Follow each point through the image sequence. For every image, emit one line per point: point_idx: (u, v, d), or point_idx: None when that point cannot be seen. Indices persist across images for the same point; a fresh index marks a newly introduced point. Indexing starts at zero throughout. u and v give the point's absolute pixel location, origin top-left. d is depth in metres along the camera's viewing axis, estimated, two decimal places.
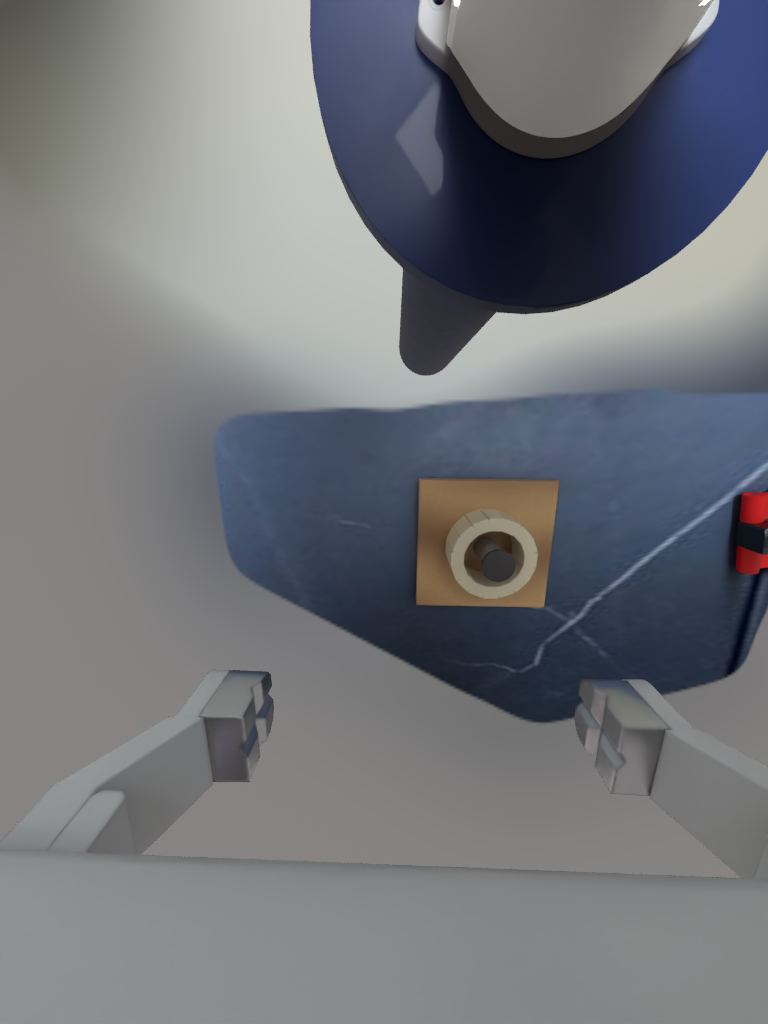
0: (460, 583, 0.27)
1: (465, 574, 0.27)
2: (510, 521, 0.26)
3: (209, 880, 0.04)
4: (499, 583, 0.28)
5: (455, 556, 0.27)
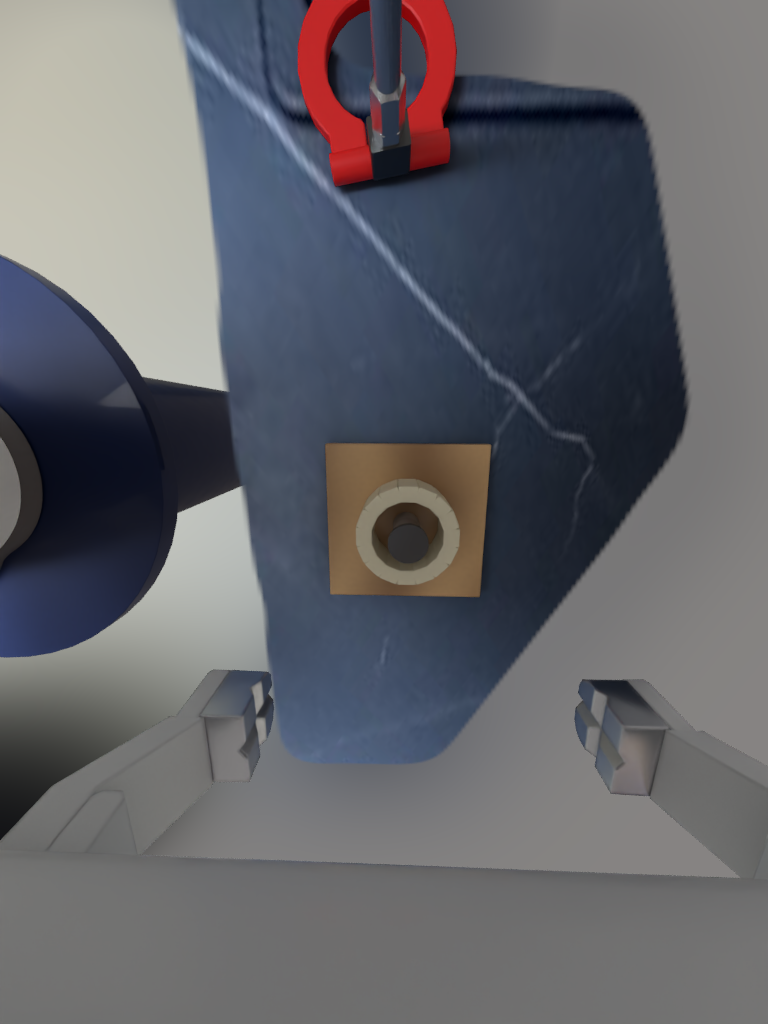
0: (437, 574, 0.23)
1: (426, 568, 0.23)
2: (359, 522, 0.22)
3: (209, 880, 0.04)
4: (441, 525, 0.22)
5: (403, 580, 0.23)
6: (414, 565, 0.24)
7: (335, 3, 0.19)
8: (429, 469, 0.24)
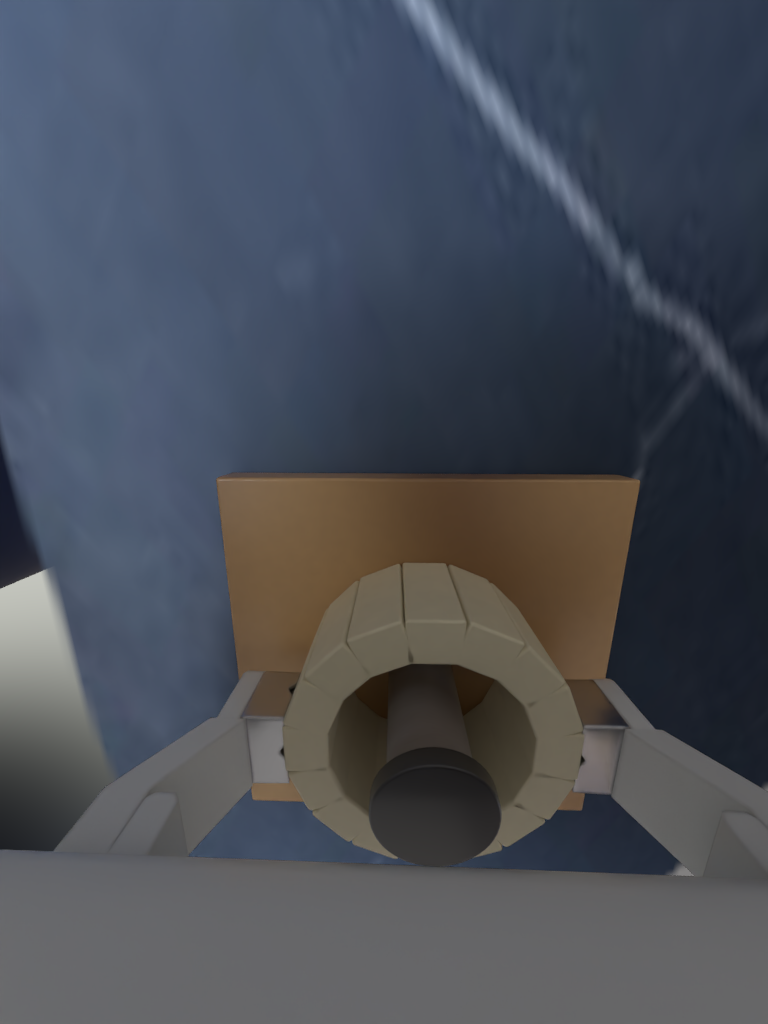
0: (512, 840, 0.08)
1: None
2: (290, 713, 0.08)
3: (209, 880, 0.04)
4: (525, 714, 0.08)
5: None
6: None
7: None
8: (478, 540, 0.10)
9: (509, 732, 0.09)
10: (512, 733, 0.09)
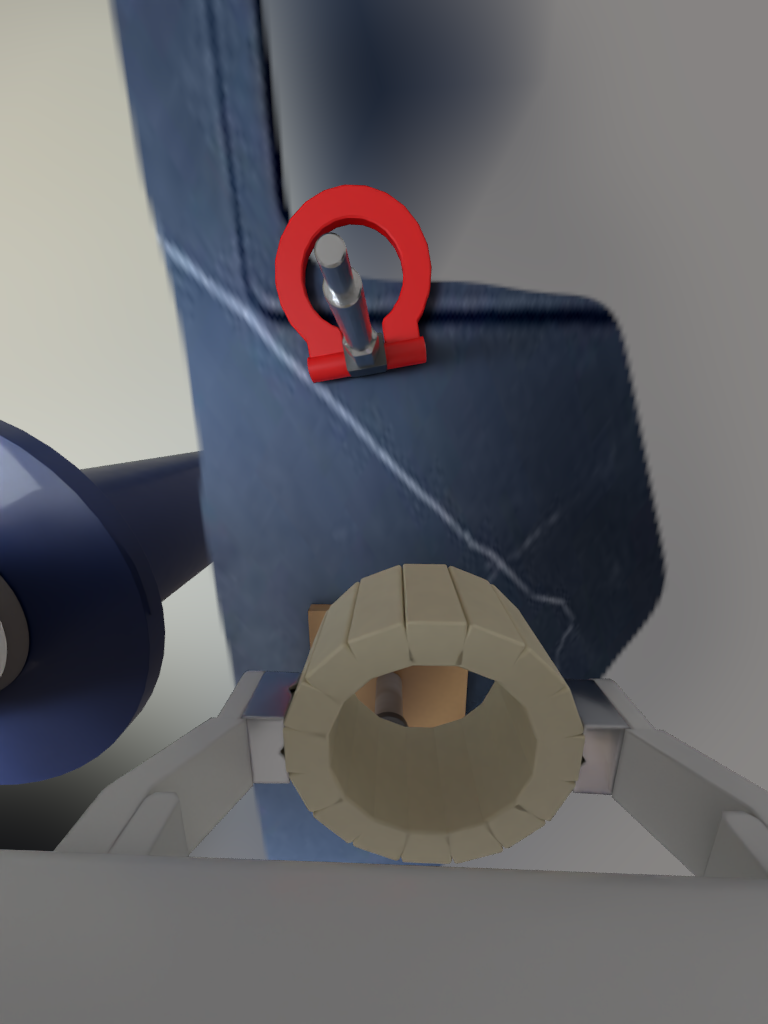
0: (513, 842, 0.08)
1: (481, 829, 0.08)
2: (290, 714, 0.08)
3: (209, 880, 0.04)
4: (526, 716, 0.08)
5: (417, 854, 0.08)
6: (446, 797, 0.09)
7: (311, 224, 0.19)
8: None
9: (510, 733, 0.09)
10: (513, 734, 0.09)
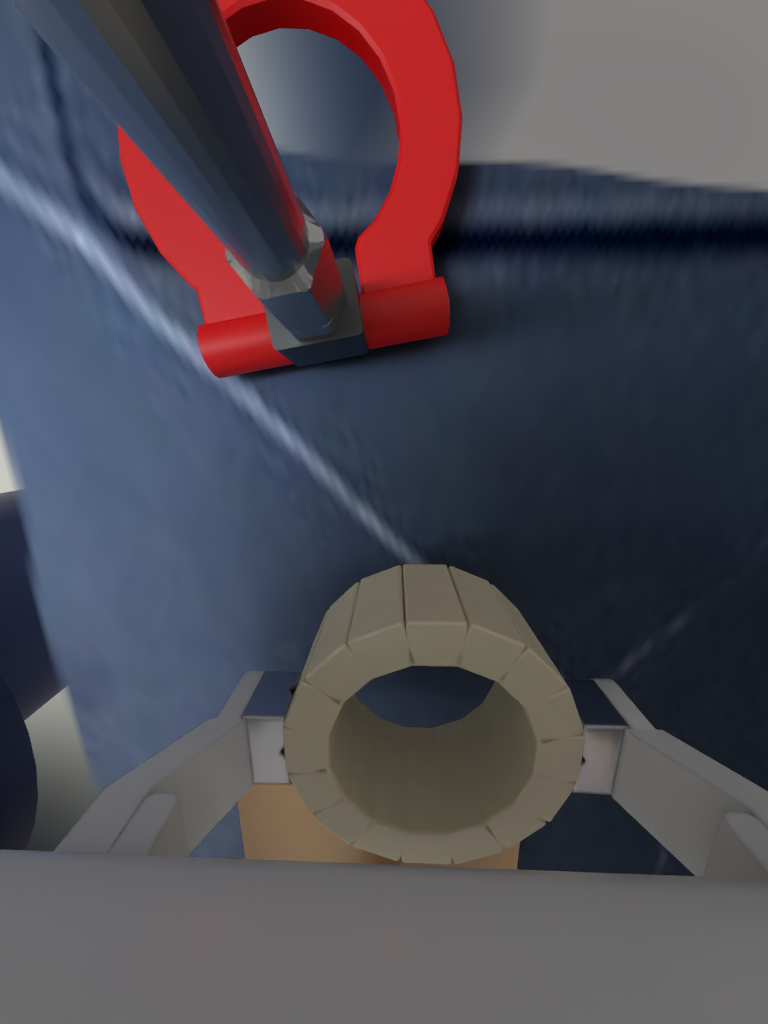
0: (513, 842, 0.08)
1: (481, 829, 0.08)
2: (291, 714, 0.08)
3: (209, 880, 0.04)
4: (526, 716, 0.08)
5: (417, 854, 0.08)
6: (446, 797, 0.09)
7: None
8: None
9: (510, 734, 0.09)
10: (513, 735, 0.09)
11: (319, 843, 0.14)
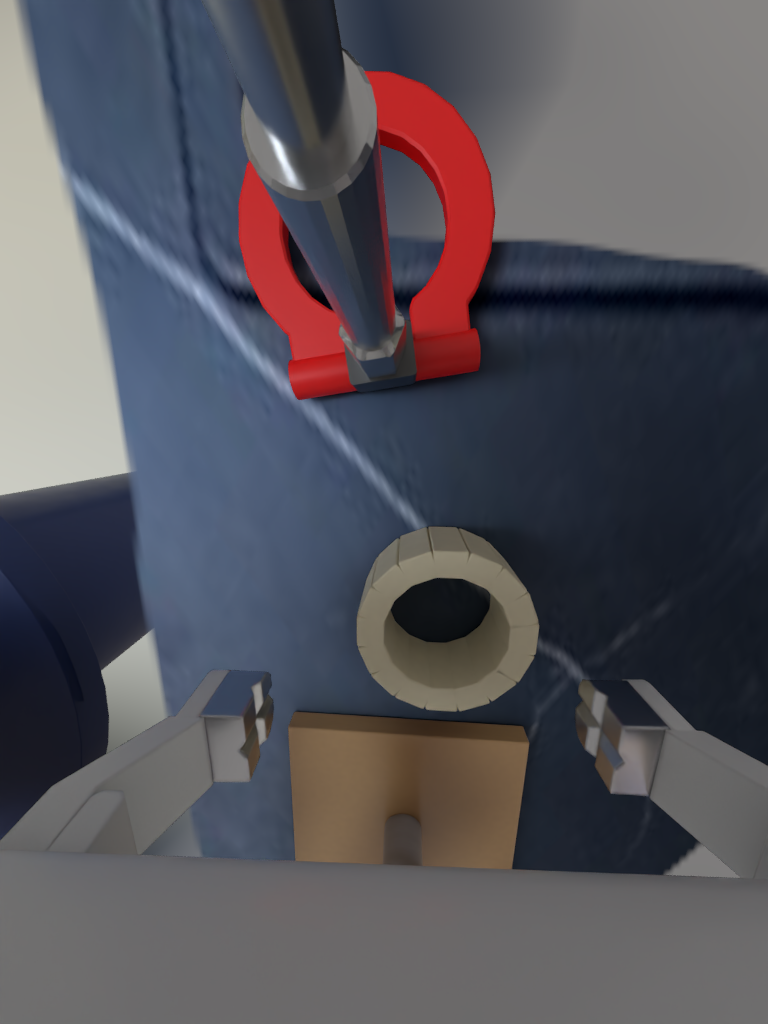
0: (495, 696, 0.13)
1: (476, 687, 0.13)
2: (362, 608, 0.13)
3: (209, 880, 0.04)
4: (504, 615, 0.13)
5: (435, 704, 0.14)
6: (454, 674, 0.14)
7: None
8: (437, 766, 0.17)
9: (496, 635, 0.14)
10: (497, 634, 0.14)
11: (354, 782, 0.17)
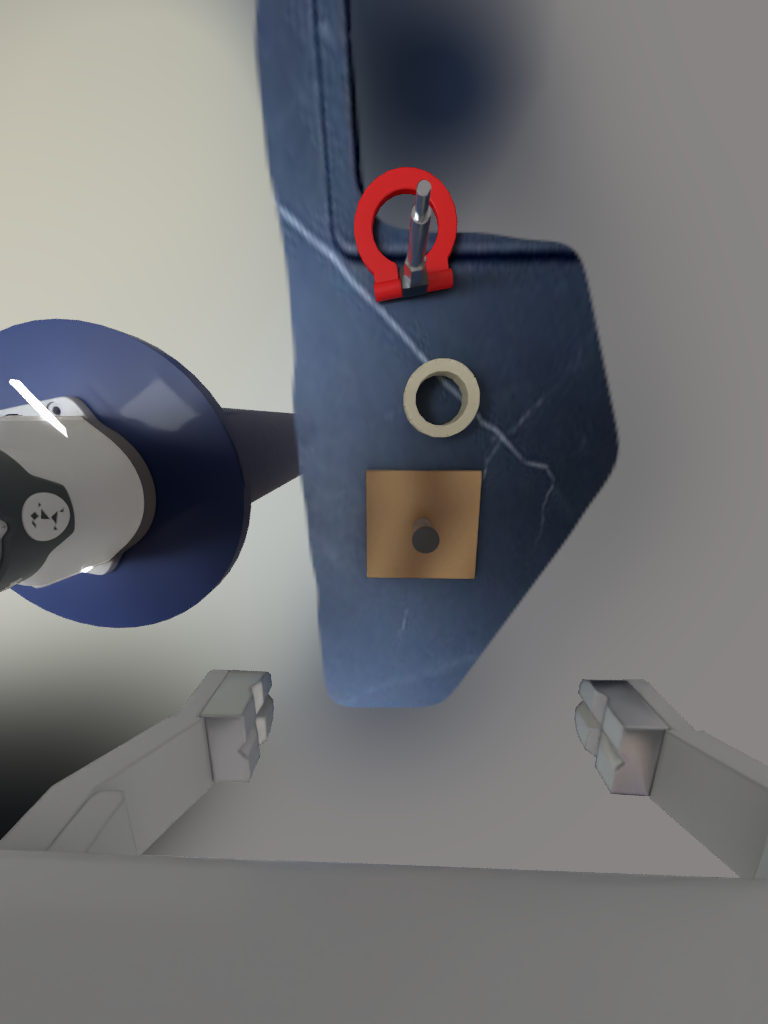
0: (463, 427, 0.31)
1: (455, 423, 0.31)
2: (406, 387, 0.30)
3: (209, 880, 0.04)
4: (466, 390, 0.31)
5: (437, 433, 0.31)
6: (445, 424, 0.32)
7: (379, 193, 0.29)
8: (438, 488, 0.35)
9: (463, 407, 0.32)
10: (464, 405, 0.32)
11: (398, 500, 0.35)
